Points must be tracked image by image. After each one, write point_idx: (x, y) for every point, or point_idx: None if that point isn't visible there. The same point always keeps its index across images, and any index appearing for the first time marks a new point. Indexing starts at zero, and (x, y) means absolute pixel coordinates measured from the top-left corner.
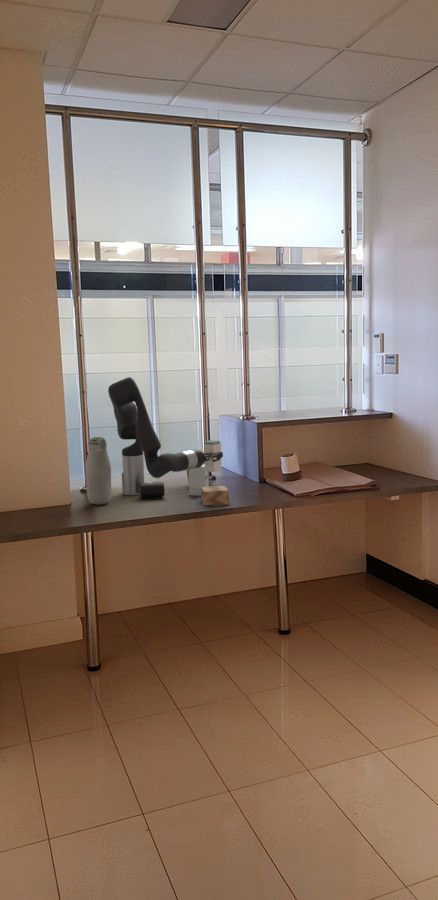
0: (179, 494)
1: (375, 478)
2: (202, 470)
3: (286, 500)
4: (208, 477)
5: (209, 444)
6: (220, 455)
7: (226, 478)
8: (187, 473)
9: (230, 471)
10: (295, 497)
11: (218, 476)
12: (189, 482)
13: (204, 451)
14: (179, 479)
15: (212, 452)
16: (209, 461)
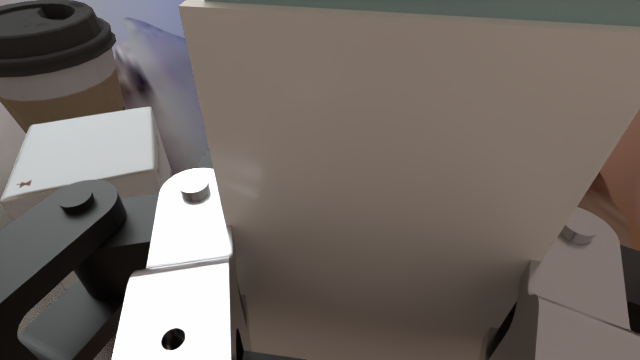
0: (20, 330)
1: None
2: (140, 195)
3: (624, 244)
4: (172, 175)
5: (432, 4)
6: None
7: (184, 75)
8: (24, 131)
9: (169, 33)
10: (594, 192)
11: (149, 66)
12: (62, 282)
13: (224, 209)
14: (3, 113)
15: (508, 246)
16: (365, 352)
